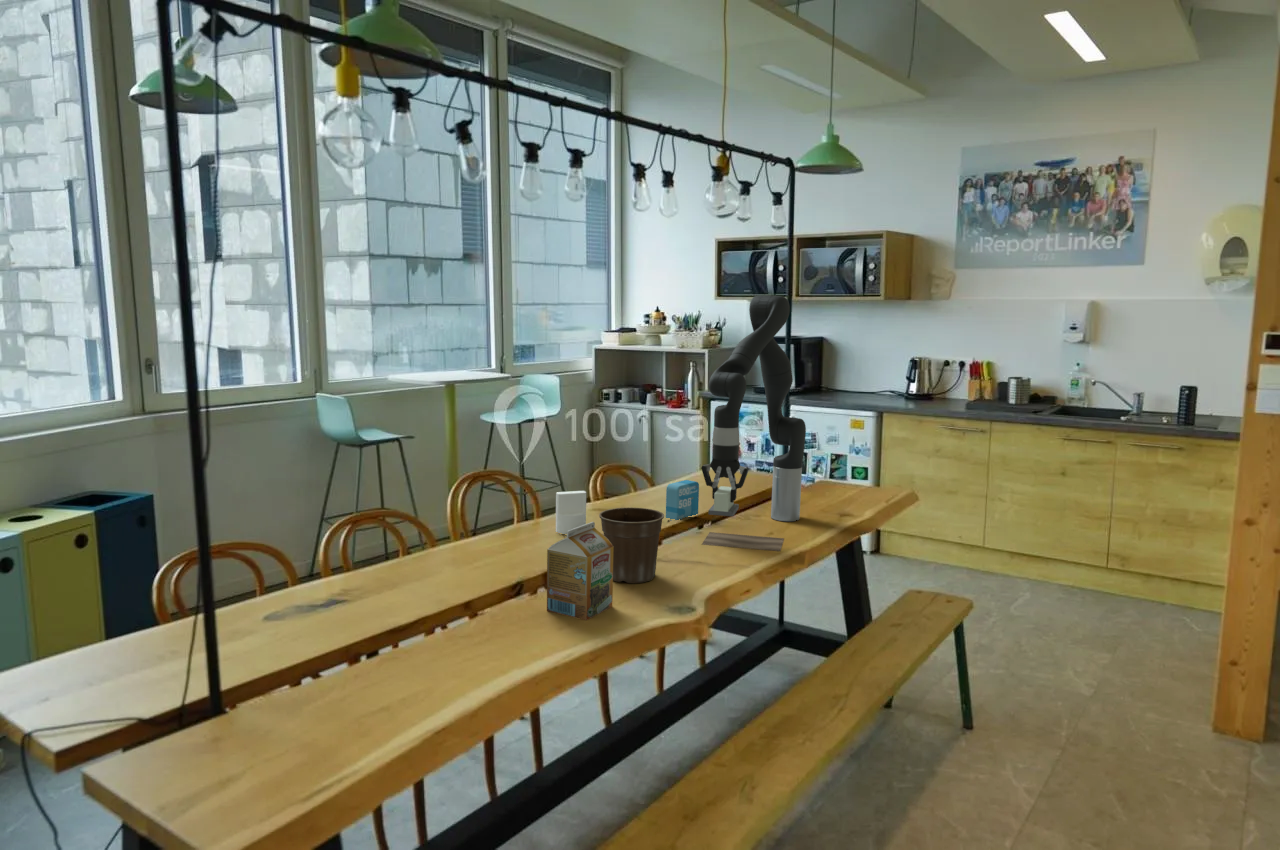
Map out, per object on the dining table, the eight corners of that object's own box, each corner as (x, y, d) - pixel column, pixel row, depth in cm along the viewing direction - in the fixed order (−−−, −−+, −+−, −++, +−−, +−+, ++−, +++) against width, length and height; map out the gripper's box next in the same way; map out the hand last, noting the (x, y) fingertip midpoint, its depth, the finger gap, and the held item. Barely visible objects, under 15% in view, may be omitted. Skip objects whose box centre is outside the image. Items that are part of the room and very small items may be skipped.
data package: (676, 523, 272) (677, 486, 270) (665, 521, 275) (666, 484, 273) (698, 517, 281) (699, 481, 280) (687, 514, 284) (688, 479, 282)
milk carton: (573, 597, 201) (574, 518, 198) (612, 606, 196) (613, 524, 193) (546, 611, 192) (547, 527, 189) (586, 620, 187) (587, 534, 184)
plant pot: (585, 573, 219) (586, 511, 217) (636, 563, 229) (637, 504, 227) (623, 591, 206) (624, 525, 204) (675, 579, 216) (677, 516, 214)
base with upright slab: (560, 536, 254) (561, 496, 252) (552, 529, 262) (552, 490, 261) (589, 534, 257) (590, 494, 256) (580, 526, 266) (580, 488, 264)
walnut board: (709, 537, 257) (709, 532, 257) (783, 543, 252) (784, 538, 252) (701, 549, 243) (701, 544, 243) (780, 556, 238) (780, 551, 238)
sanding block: (715, 506, 254) (715, 485, 253) (738, 508, 252) (739, 487, 251) (708, 514, 245) (709, 493, 244) (732, 516, 243) (733, 494, 242)
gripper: (752, 441, 247) (750, 500, 250) (703, 438, 251) (702, 496, 253) (748, 445, 240) (746, 506, 243) (698, 442, 244) (697, 502, 246)
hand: (724, 500), depth 248 cm, fingers closed on sanding block, 4 cm apart
